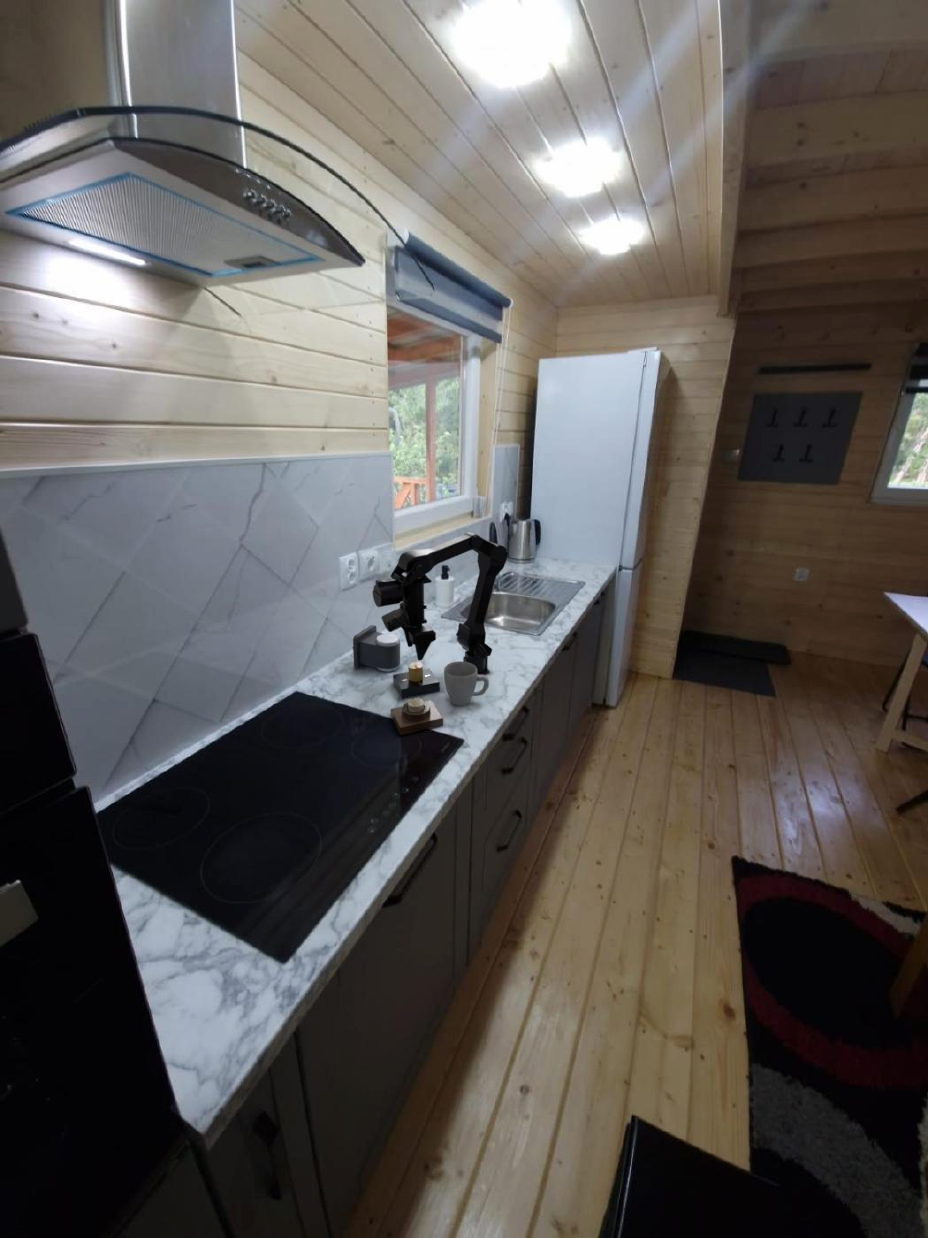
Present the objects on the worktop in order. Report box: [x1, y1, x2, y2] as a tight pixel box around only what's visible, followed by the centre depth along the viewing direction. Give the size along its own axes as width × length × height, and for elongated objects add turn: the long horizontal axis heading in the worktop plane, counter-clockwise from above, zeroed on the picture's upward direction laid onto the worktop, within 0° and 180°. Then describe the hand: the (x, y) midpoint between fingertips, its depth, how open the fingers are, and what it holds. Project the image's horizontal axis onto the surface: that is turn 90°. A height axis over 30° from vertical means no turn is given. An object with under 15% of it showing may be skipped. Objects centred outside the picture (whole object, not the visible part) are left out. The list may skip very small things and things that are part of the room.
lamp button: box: [407, 697, 425, 712], centre depth 124 cm, size 4×4×2 cm
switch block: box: [390, 700, 444, 736], centre depth 125 cm, size 11×9×4 cm
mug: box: [443, 661, 490, 706], centre depth 133 cm, size 12×9×10 cm
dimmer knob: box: [407, 661, 424, 682], centre depth 139 cm, size 4×4×4 cm
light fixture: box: [352, 624, 401, 672], centre depth 151 cm, size 11×13×11 cm
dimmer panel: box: [392, 667, 441, 700], centre depth 140 cm, size 11×9×3 cm
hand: (414, 653), depth 137 cm, fingers open, 9 cm apart
